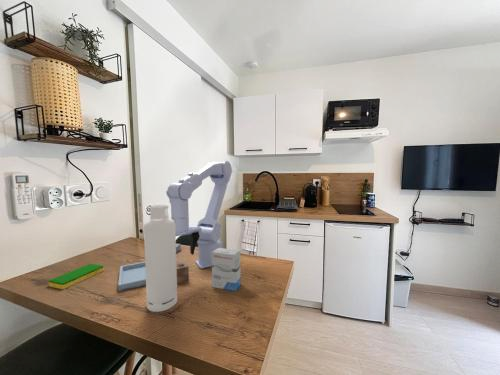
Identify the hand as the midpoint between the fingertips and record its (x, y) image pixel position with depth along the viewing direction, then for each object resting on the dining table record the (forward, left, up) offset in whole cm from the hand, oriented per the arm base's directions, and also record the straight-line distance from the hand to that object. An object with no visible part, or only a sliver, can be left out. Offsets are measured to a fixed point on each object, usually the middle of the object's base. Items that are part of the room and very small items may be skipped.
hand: (181, 255), depth 73 cm
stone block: (+1, -29, -9) cm, 31 cm away
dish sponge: (+32, -20, -9) cm, 39 cm away
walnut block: (0, 0, -8) cm, 8 cm away
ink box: (-12, +12, -9) cm, 19 cm away
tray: (+12, -10, -8) cm, 18 cm away
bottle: (+8, +11, -9) cm, 16 cm away
